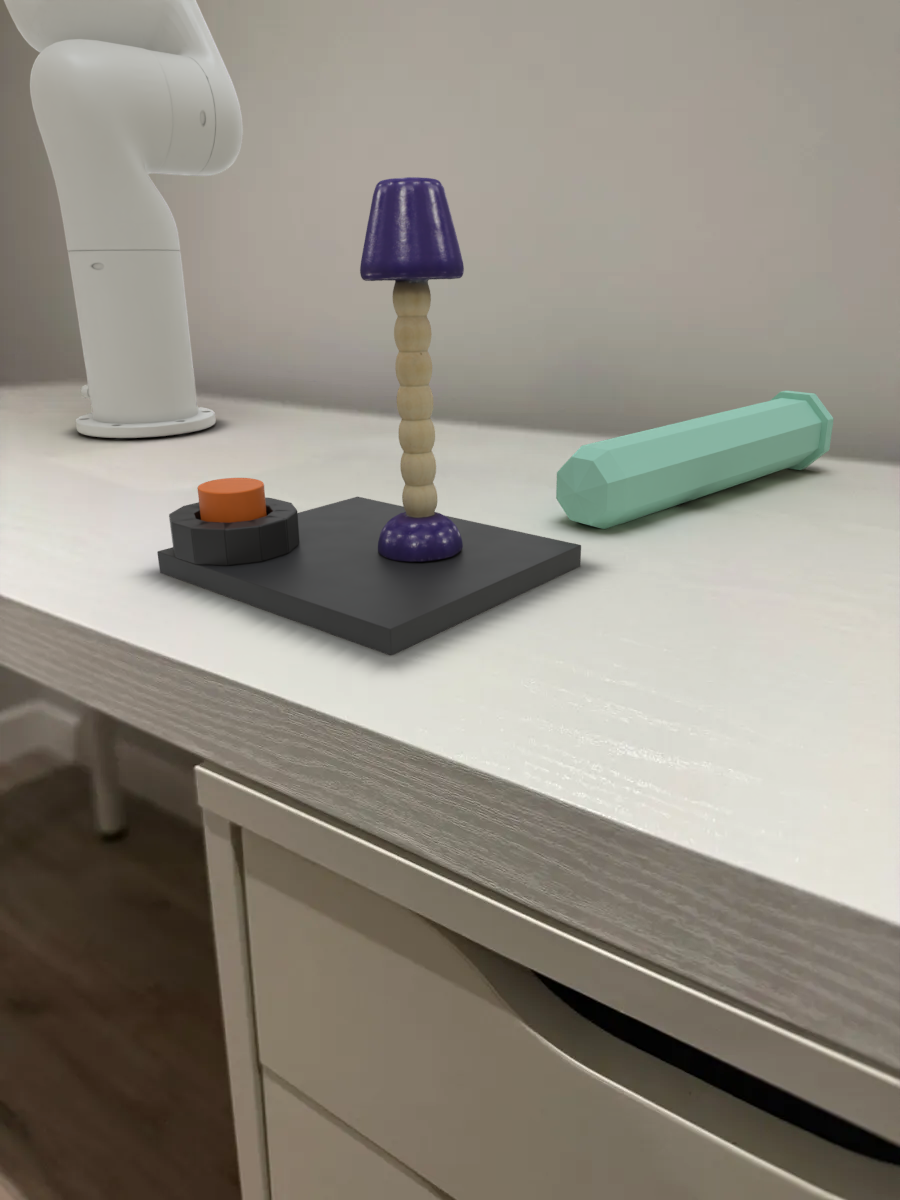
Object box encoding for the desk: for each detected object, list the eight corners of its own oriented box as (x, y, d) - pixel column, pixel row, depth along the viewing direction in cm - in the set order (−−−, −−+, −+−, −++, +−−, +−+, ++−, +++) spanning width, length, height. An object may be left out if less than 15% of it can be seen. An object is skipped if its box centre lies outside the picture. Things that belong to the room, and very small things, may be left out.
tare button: (188, 520, 44) (183, 486, 43) (240, 507, 46) (237, 474, 45) (227, 531, 42) (224, 496, 41) (279, 517, 44) (277, 483, 44)
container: (600, 428, 47) (823, 378, 63) (525, 454, 52) (750, 402, 67) (628, 534, 48) (843, 458, 63) (552, 551, 52) (769, 477, 68)
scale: (152, 571, 45) (144, 514, 43) (352, 513, 55) (349, 465, 54) (390, 657, 35) (387, 586, 34) (580, 567, 45) (583, 510, 44)
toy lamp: (352, 548, 44) (333, 179, 38) (418, 529, 47) (410, 185, 41) (420, 569, 41) (412, 171, 35) (486, 546, 44) (488, 178, 38)
